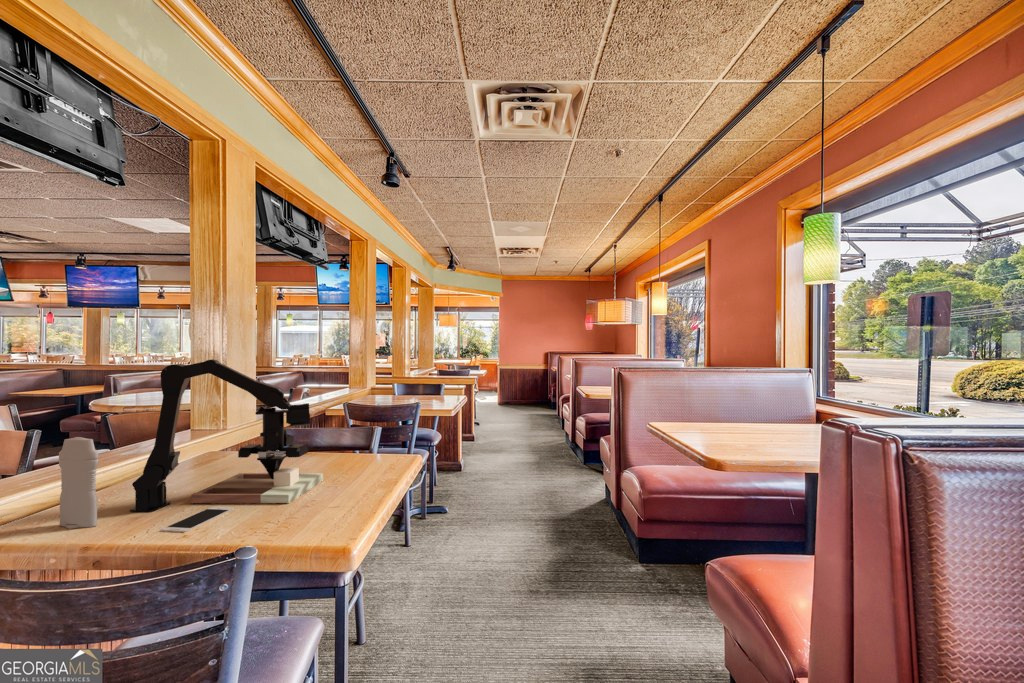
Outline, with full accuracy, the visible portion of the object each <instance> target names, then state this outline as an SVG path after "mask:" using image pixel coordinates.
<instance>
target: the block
mask: <svg viewBox="0 0 1024 683" xmlns="http://www.w3.org/2000/svg"><path fill="white" fill-rule="evenodd" d="M299 469H300V468H299V467H282V468H279V470H278V471H276V472H274V486H291V485H293V484H294V483H296V482H298V481H299V473H300V472H299V471H300V470H299Z"/></svg>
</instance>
